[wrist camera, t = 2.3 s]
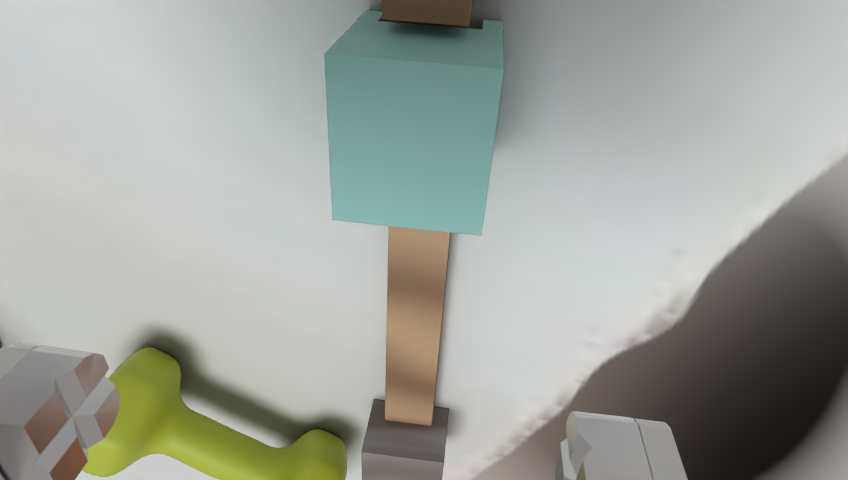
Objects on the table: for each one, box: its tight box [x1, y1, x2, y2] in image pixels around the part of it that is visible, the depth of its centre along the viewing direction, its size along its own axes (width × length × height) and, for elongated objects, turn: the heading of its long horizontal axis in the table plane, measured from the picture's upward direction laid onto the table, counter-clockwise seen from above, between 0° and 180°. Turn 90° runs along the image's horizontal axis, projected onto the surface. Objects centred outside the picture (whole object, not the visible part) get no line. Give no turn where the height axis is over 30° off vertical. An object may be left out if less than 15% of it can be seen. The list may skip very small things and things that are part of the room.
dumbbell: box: [82, 347, 347, 480], centre depth 35 cm, size 16×8×7 cm, turn 56°
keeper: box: [324, 10, 504, 236], centre depth 21 cm, size 6×6×7 cm
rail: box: [362, 0, 473, 480], centre depth 27 cm, size 30×5×4 cm, turn 177°
